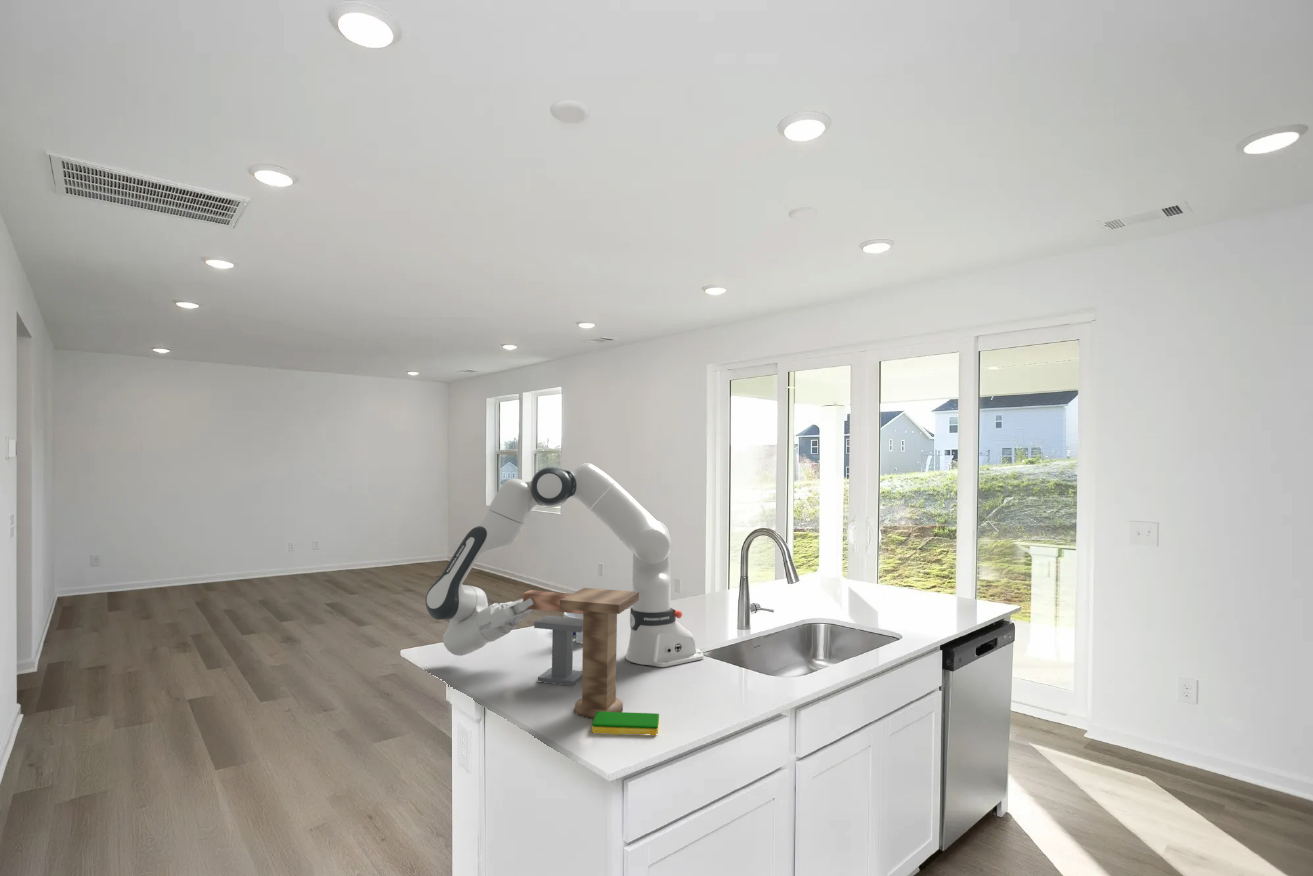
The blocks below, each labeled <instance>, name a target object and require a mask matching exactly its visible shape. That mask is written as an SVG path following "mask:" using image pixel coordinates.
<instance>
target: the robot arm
mask: <svg viewBox="0 0 1313 876" xmlns="http://www.w3.org/2000/svg"><path fill="white" fill-rule="evenodd" d="M570 498H572V499H575V500H578V501H579V502H581V503H582V504H583V505H584V506H585V507H586V508H587V509H588V510H589V511H590V512H592V513H593V514H594V515H595V516H596V517H597V518H598V519H599V520H600V521H602V523H603V524H604V525H605V526H607V527H608V528H609V530H611V531H612V533H614V535H615V536H616V537H617V538H618V539H619V540H620V541H621V542H622V543H623V544H624V545H625V546H626V547H627V549H628V550H630V551H631V552H632V580H631V581H632V586H631V590H632V592H639V601H637V602H636V603H634V604H633V605H631V607H630V613H629V626H630V635H629V642H628V646H627V647H628V648H627V651H626V654H625V659H626V660H627V661H629V662H630V663H635V664H639V665H646V666H653V667H657V668H667V667H670V666H676V665H681V664H685V663H690V662H694V661H701V660H703V659H704V653H703V651H702V650H701V649H699V648H698V647H697V646H696V645H697V644H696V639H695V637H694V635H693V633H692V632H691V631H690V630H688V629H687V628H686V627H684V626H683V625H682V624H681V623H680V622H678V621H677V620H676V618H677V619H682V617H683V612H682V611H680V610H678V609H674V608H672V607H671V586H672V585H671V581H672V580H671V578H672V577H671V551H672V547H673V546H672V545H673V542H672V536H671V533H670V531H669V528H668V527H667V526H666V525H665V523H663V522H662V521H659V520H657V519H655V518H654V517H653V515H652V514H650V513H649V512H648V511H647V509H645V508H644V507H643V506H642V505H641V504H640V502H638V501H637V500H636V499H635V498H634V497H633V496H632V495H631V494H630V493H629V492H628V491H627V490H626V489H624V488H623V486H621V485H620V484H619V483H618V482H617V481H616V480H614V479H613V477H611V476H610V475H609V474H608V473H606V472H605V471H603V470H602V469H601V468H599V467H597V466H596V465H595V464H593V463H591V462H585V463H581V464H580V465H577V466H576V467H575V468H574V469H573V470H572V471H570V470H566V469H562V468H558V467H553V466H550V467H548V466H547V467H545V468H541V469H540V470H538V471H537V472H536V473H535V474H534V475H533V477H532V479H531V481H530V480H529V481H525V480H523V479H520V478H510V479H507V480H505V482H504V483H503V484H502V485H501V487H499V489H498V491H497V492H496V494H495V496H494V497H493V498H492V501H491V503H490V505H489V507H488V509H487V511H486V513H485V515H484V516H483V517H482V519H481V520H480V521H479V522H478V524H477V525H476V526H475V527H474V528H472V529H471V530H469V531H468V532H467V534H466V535H465V537H464V538H463V539H462V541H461V542H460V544H459V546H458V547H457V548H456V550H455V552H454V554H453V555H452V557H451V558H450V560H449V562H448V563H447V565H446V566H445V568H444V569H443V571H442V573H441V574H440V576H439V577H438V578H437V579H436V580H435V581H434V582H433V583H432V585H431V586H430V588H428V591H427V593H426V596H425V606H426V611H427V612H428V614H429V616H430V617H431V618H433V619H435V620H437V621H438V620H439V621H441V620H443V621H445V620H447V621H448V620H449V623H448V626H447V628H446V629H447V630H446V631H445V632H444V634H443V635H442V642H443V646H444V647H445V649H447V651H448V652H449V653H450V654H452V655H454V656H459V657H463V656H466V655H469V654H471V653H474V652H476V651H478V650H479V649H481V648H484V647H485V646H486V645H487V644H488V643H491V642H495V641H496V640H499V639H500V638H502V637H504V636H506V635H508V634H509V633H510V632H511V631H512V630H513V629H514V628H515V627H516V626H517V625H519V624H520V623H521V621H522V620H523V619H524V618H526V617H527V616H528V615H530V614H531V613H533V612H535V610H534V609H526V608H528V607H529V606H531V605H533V604H535V601H534V599H533V598H530V599H528V600H526V601H524V602H523V597H522V598H520V599H517V600H514V601H507V602H500V603H498V602H494V603H492V604H490V605H489V600H488V596H487V593H486V592H485V591H484V590H483V589H482V588H480V587H477V586H475V585H474V586H473V585H468V584H463V583H464V581H465V580H466V578H467V577H468V575H469V573H470V571H471V570H472V568H473V566H474V565H475V563H476V561H478V559H479V558H480V557H481V556H483V555H484V554H486V553H488V552H492V551H494V550H500V549H504V548H507V547H509V546H511V545H513V544H514V543H515V542H516V541H517V539H518V538H519V537H520V535H521V533H522V531H523V529H524V526H525V524H526V522H527V521H528V518H529V516H530V514H531V512H532V510H533V509H534V508H535V507H536V506H539V507H540V506H541V507H546V508H555V507H559V506H561V505H563V504H564V503H565V502H566V501H567V500H568V499H570Z"/></svg>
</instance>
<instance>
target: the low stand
mask: <svg viewBox="0 0 1313 876" xmlns="http://www.w3.org/2000/svg"><path fill="white" fill-rule="evenodd" d="M533 628H534V629H540V630H542V629H543V630H552V633H551V634H552V639H551V640H552V643H551V646H552V647H551V667H550V668H548V670H546V671H544V672H543V673H541V674H540V675H539V676H537V682H538V681H541V682H540V683H542V682H546V683H545V684H551V683H555V684H554V685H559V684H561V685H560V686H567V685H570V687H575V686H576V685H577V684H578V683H580V682H581V681H582V680H581V679H582V670H576V669H573V659H574V656H573V653H574V652H573V651H574V647H573V646H574V635H573V632H582V631H583V619H576V618H565V617H564V616H563V617H562V616H553V615H545V616H542V617H541V618H539V619H537V620H536V621H533ZM580 680H581V681H580ZM574 685H575V686H574Z"/></svg>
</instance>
